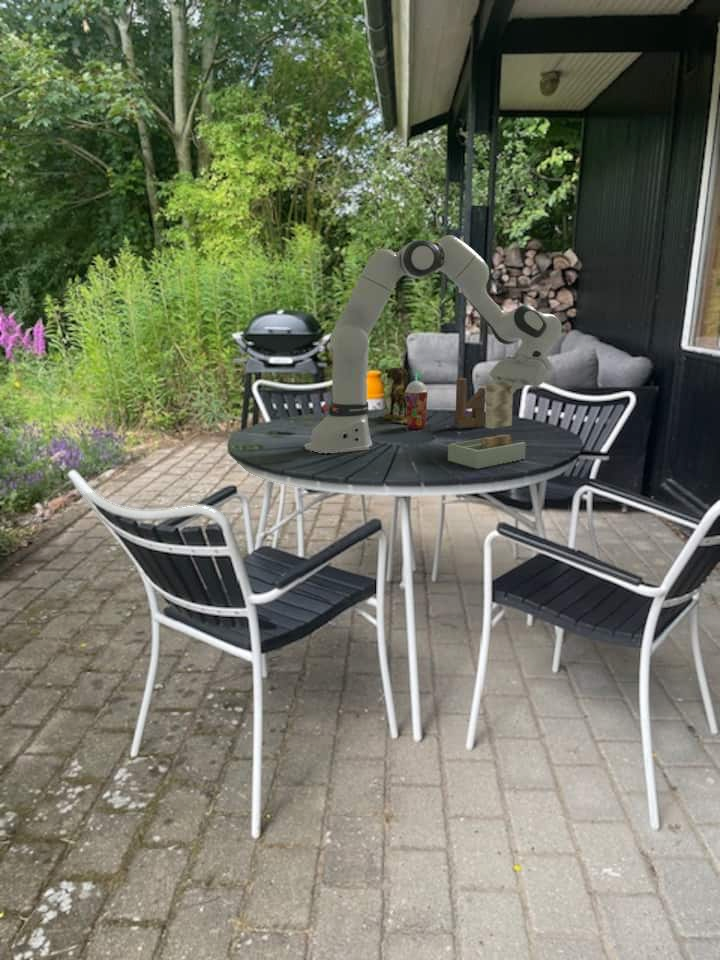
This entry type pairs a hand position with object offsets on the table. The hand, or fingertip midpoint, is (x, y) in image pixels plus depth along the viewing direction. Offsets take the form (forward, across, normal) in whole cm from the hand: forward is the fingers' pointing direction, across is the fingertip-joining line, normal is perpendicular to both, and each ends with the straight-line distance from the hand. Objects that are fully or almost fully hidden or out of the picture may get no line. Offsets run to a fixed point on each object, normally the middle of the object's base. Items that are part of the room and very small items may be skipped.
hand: (505, 391), depth 222 cm
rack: (+25, +12, -1) cm, 28 cm away
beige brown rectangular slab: (+9, 0, +6) cm, 11 cm away
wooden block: (+3, -30, +21) cm, 37 cm away
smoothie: (+15, -41, +10) cm, 45 cm away
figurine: (+11, -59, +14) cm, 62 cm away
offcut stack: (+25, +15, -1) cm, 29 cm away
